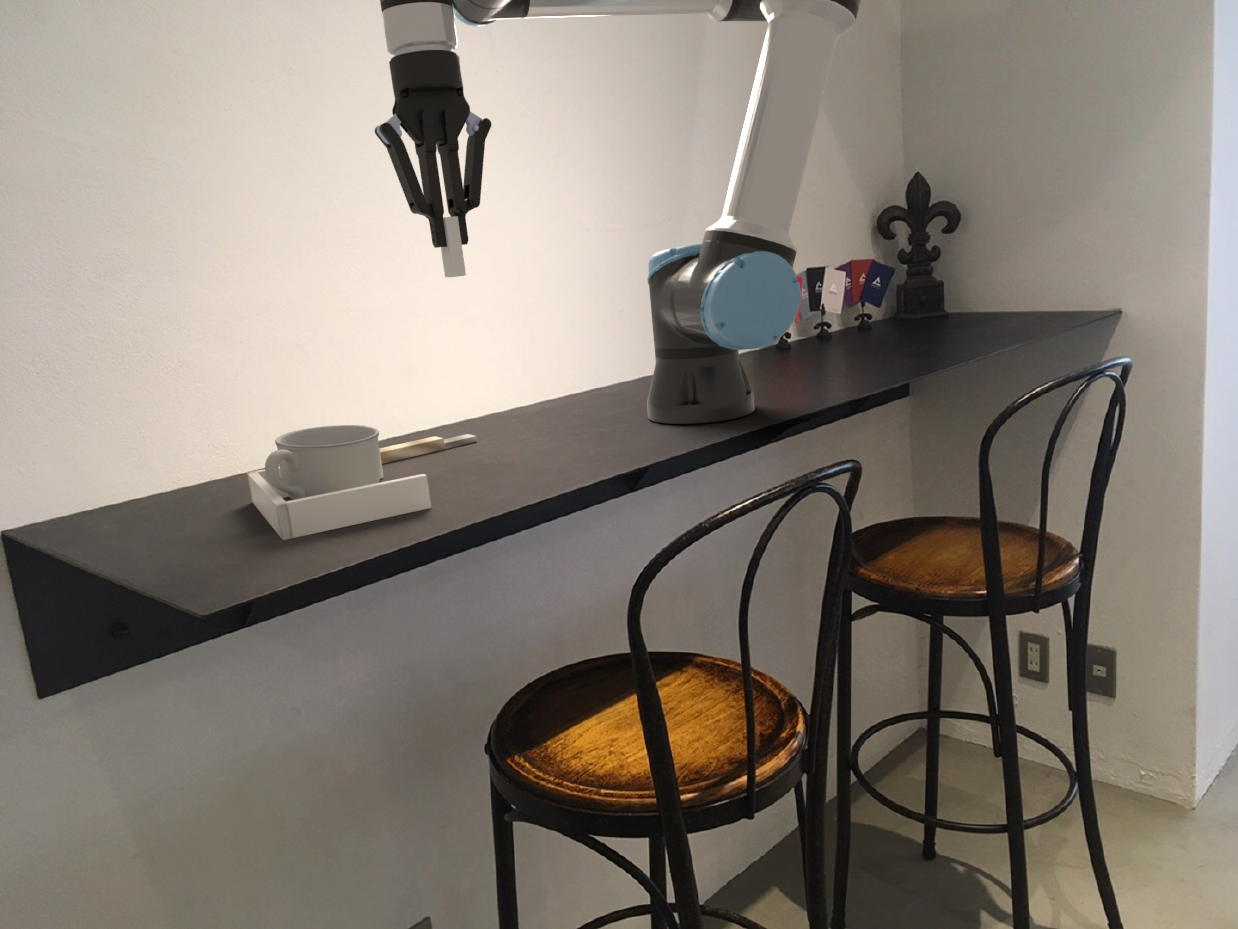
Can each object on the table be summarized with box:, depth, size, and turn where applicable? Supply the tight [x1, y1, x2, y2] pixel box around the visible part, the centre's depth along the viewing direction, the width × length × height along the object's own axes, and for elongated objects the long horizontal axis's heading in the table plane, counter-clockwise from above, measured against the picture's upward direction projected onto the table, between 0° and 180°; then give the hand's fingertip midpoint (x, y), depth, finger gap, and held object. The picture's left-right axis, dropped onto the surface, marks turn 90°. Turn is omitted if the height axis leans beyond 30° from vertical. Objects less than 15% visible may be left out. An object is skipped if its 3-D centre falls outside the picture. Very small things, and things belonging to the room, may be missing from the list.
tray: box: [246, 450, 432, 541], centre depth 105 cm, size 15×19×4 cm
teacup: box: [264, 424, 381, 500], centre depth 104 cm, size 14×11×8 cm
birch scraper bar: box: [379, 433, 478, 465], centre depth 127 cm, size 23×2×2 cm, turn 129°
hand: (455, 276), depth 110 cm, fingers closed
